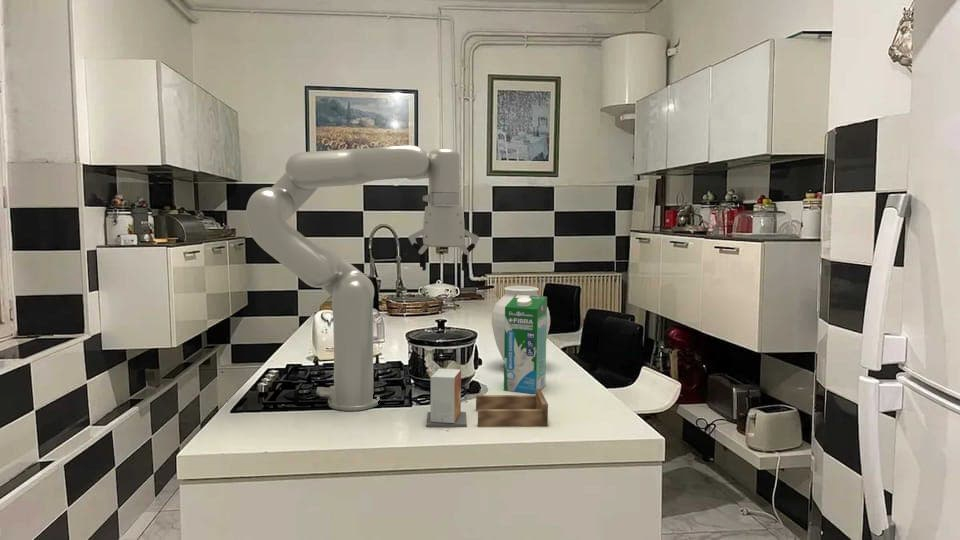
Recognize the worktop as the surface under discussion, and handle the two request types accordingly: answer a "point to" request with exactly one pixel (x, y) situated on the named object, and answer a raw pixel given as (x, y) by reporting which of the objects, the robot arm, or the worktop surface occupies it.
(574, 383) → the worktop surface
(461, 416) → the pad
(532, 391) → the milk carton
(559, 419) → the worktop surface
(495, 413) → the holder
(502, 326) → the vase
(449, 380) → the small box
